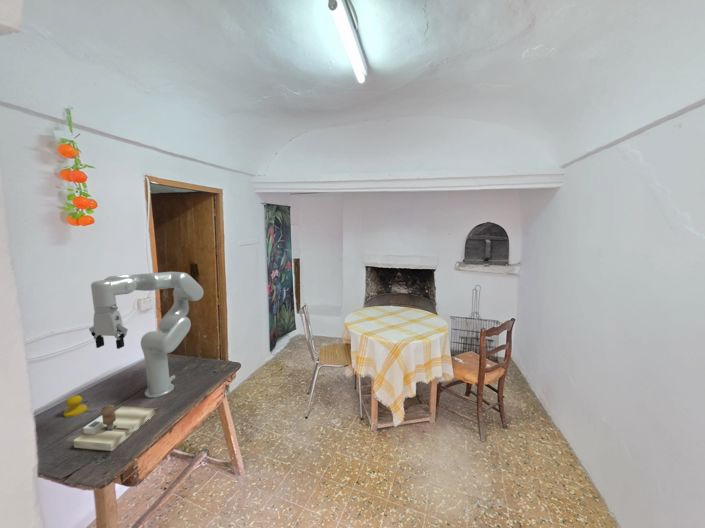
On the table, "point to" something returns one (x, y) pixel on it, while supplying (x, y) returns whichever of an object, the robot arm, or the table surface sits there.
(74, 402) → the doorknob
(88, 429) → the block
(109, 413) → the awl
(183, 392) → the table surface
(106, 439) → the cream slotted tray
